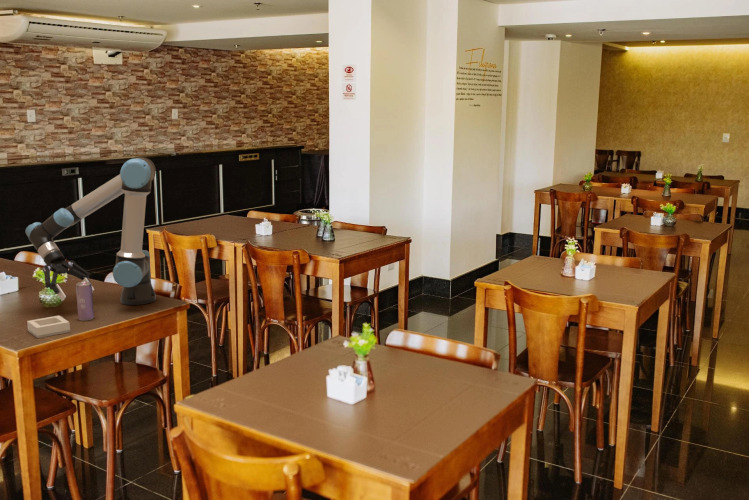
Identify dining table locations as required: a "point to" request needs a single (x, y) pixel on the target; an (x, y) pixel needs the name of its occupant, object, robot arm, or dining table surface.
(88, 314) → the beverage can
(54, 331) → the holder
